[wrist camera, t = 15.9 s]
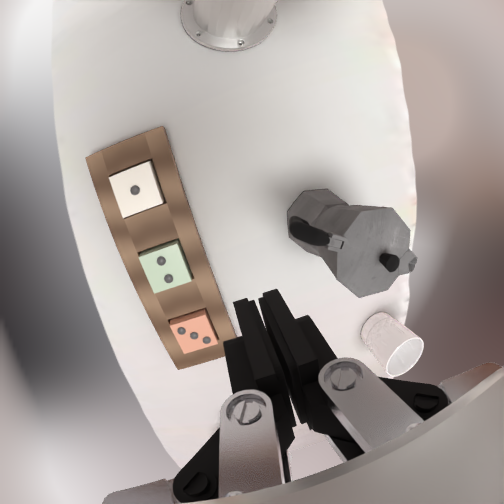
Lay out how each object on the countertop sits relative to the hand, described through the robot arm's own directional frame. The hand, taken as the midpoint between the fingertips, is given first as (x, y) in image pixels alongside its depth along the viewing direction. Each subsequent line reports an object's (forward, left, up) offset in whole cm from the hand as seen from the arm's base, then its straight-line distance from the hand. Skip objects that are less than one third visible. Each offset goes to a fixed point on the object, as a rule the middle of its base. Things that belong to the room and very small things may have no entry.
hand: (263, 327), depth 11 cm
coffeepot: (+6, +12, -28) cm, 31 cm away
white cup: (+30, +21, -28) cm, 46 cm away
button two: (+5, -8, -27) cm, 29 cm away
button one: (-5, -8, -27) cm, 29 cm away
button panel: (+5, -8, -28) cm, 29 cm away
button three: (+15, -8, -27) cm, 32 cm away
